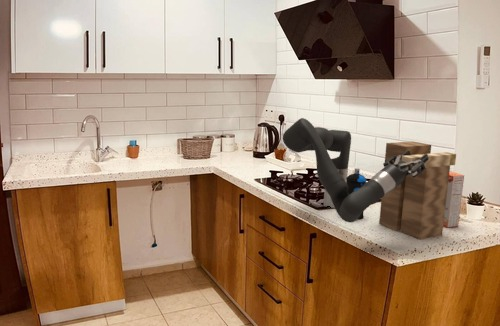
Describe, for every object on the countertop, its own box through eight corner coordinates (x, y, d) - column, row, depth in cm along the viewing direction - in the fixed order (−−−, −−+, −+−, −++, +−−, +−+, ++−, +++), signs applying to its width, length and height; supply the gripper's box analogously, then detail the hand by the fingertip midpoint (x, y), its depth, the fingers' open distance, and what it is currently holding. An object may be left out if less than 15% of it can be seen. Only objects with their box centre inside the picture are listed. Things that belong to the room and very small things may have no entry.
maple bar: (409, 169, 161) (410, 157, 160) (400, 167, 164) (401, 155, 163) (455, 165, 172) (456, 154, 171) (445, 162, 175) (447, 152, 174)
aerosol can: (339, 215, 194) (342, 167, 190) (351, 212, 199) (355, 165, 195) (355, 220, 188) (359, 171, 184) (367, 217, 193) (371, 169, 189)
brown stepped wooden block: (417, 239, 169) (426, 151, 162) (379, 224, 185) (386, 143, 179) (443, 234, 175) (454, 149, 169) (404, 219, 192) (412, 141, 185)
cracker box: (421, 217, 195) (426, 167, 191) (433, 216, 198) (438, 167, 194) (446, 228, 183) (452, 175, 179) (458, 226, 185) (465, 174, 181)
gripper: (374, 184, 167) (405, 159, 172) (405, 194, 154) (437, 167, 160) (367, 167, 164) (399, 142, 169) (398, 176, 151) (432, 148, 157)
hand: (418, 154), depth 164 cm, fingers open, 7 cm apart
